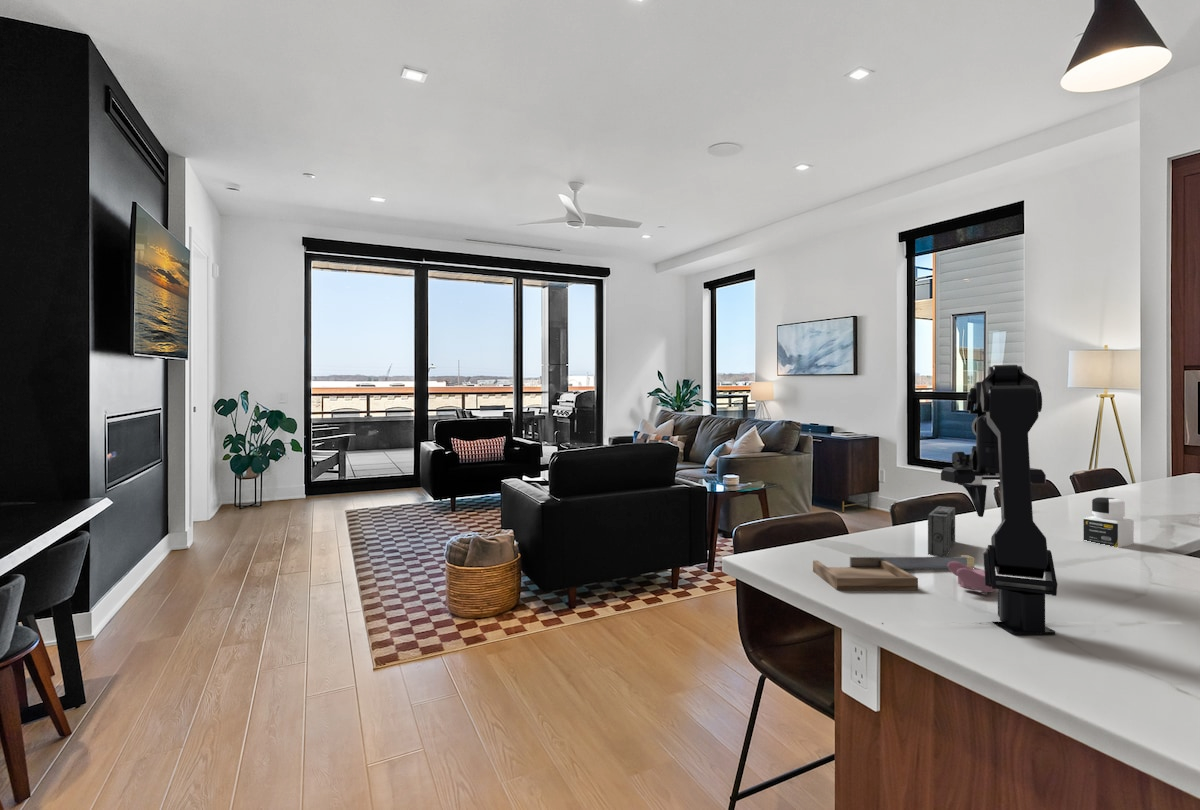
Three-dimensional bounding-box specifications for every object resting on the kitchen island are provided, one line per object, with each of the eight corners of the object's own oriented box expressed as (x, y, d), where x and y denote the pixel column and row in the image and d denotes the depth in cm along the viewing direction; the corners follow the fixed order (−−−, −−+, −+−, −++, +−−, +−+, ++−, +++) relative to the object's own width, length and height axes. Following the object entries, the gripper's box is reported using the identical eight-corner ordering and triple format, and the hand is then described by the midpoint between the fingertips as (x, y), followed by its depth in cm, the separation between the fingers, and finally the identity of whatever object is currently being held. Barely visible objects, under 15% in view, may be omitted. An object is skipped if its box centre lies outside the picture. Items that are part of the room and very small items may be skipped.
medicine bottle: (1082, 546, 149) (1082, 497, 149) (1099, 543, 152) (1099, 495, 152) (1117, 552, 142) (1117, 501, 142) (1134, 549, 145) (1134, 499, 145)
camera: (946, 561, 135) (946, 516, 135) (926, 558, 137) (926, 514, 137) (956, 547, 148) (956, 506, 148) (937, 545, 150) (937, 504, 150)
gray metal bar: (974, 569, 127) (974, 557, 127) (851, 569, 127) (851, 557, 127) (967, 566, 129) (967, 555, 129) (846, 566, 129) (846, 555, 129)
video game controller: (957, 593, 111) (1002, 597, 108) (957, 568, 111) (1001, 571, 109) (947, 583, 120) (988, 587, 118) (946, 559, 120) (987, 562, 118)
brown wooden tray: (917, 590, 114) (917, 578, 114) (837, 590, 114) (837, 578, 114) (885, 571, 127) (885, 560, 127) (813, 571, 127) (812, 560, 127)
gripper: (1011, 439, 136) (1011, 510, 136) (927, 439, 136) (927, 510, 136) (1047, 442, 125) (1047, 519, 125) (956, 443, 125) (956, 519, 125)
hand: (992, 516), depth 128 cm, fingers open, 5 cm apart
